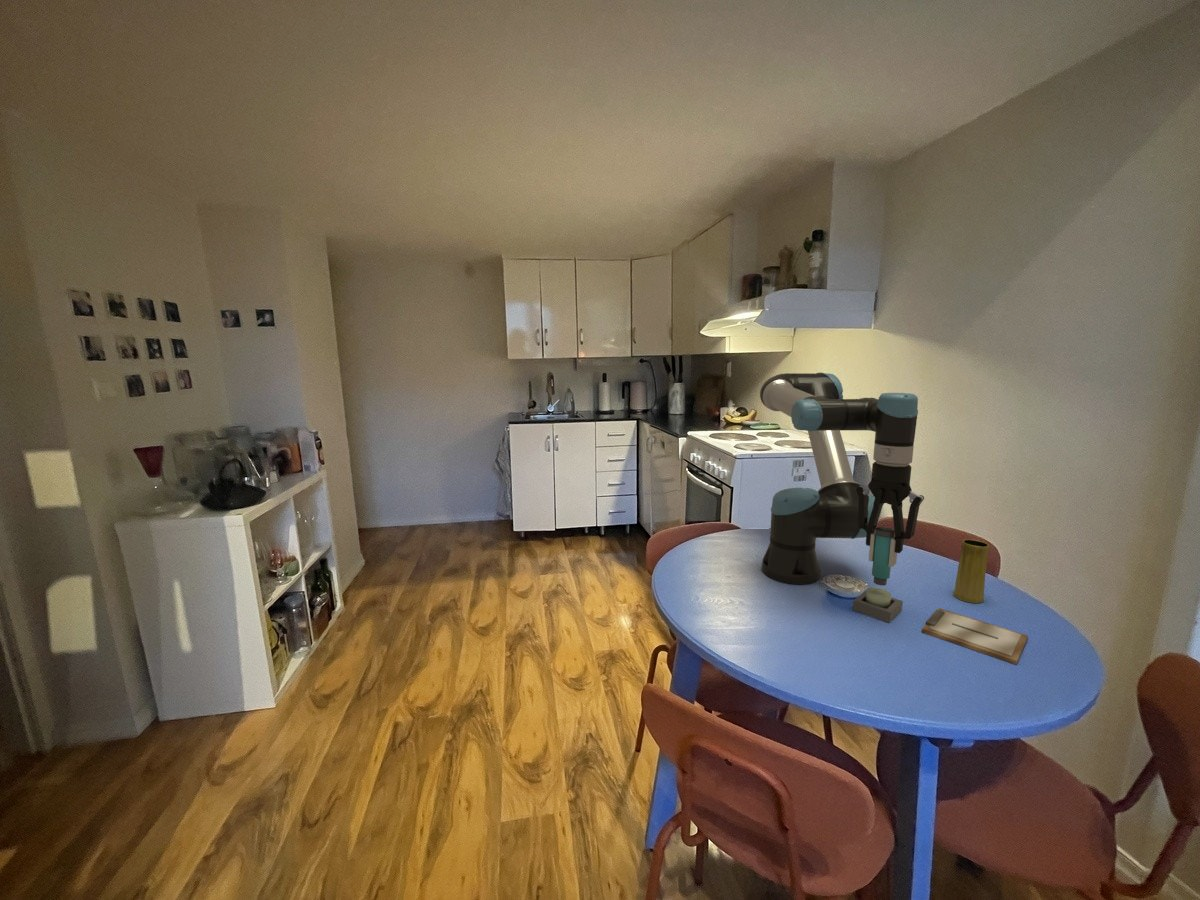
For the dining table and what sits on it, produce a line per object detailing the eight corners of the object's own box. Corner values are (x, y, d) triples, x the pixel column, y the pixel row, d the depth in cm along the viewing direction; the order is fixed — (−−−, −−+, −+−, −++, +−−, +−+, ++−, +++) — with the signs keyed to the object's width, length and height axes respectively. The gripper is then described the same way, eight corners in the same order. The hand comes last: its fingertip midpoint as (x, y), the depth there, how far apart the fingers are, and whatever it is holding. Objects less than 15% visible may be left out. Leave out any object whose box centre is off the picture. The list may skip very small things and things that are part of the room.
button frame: (852, 610, 117) (853, 600, 117) (865, 598, 122) (866, 589, 122) (889, 623, 111) (890, 612, 111) (901, 610, 117) (902, 600, 116)
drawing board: (921, 632, 108) (922, 626, 107) (938, 611, 116) (939, 605, 116) (1016, 664, 96) (1017, 658, 96) (1027, 639, 105) (1028, 632, 104)
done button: (862, 603, 117) (863, 592, 116) (870, 596, 120) (871, 585, 120) (885, 610, 113) (886, 599, 113) (893, 603, 116) (894, 592, 116)
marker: (868, 583, 115) (873, 529, 113) (873, 578, 118) (878, 525, 116) (886, 588, 113) (892, 533, 110) (891, 582, 115) (896, 529, 113)
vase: (989, 604, 119) (997, 548, 116) (960, 602, 120) (967, 546, 118) (975, 592, 125) (983, 539, 122) (948, 590, 126) (955, 537, 124)
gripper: (846, 460, 114) (838, 556, 118) (930, 471, 102) (918, 578, 106) (859, 455, 119) (851, 548, 123) (940, 466, 107) (928, 568, 111)
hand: (882, 562), depth 115 cm, fingers closed on marker, 3 cm apart
